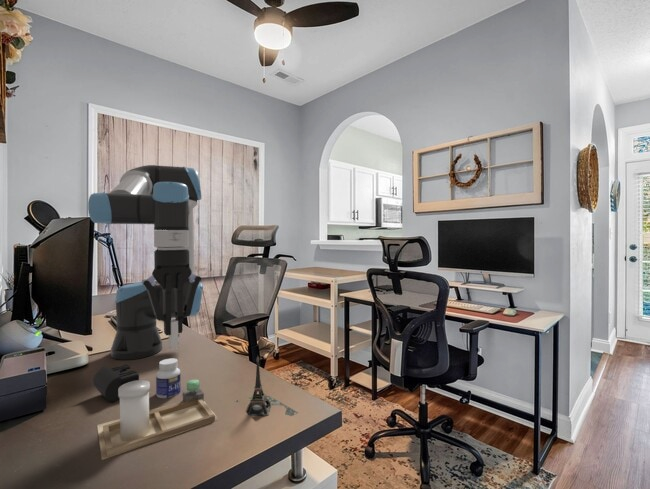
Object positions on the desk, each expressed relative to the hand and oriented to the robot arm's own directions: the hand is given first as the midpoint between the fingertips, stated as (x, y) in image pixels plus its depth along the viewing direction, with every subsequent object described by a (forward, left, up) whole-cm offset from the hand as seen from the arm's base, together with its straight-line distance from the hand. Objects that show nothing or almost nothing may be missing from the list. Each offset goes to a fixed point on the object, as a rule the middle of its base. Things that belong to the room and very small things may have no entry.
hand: (173, 347), depth 79 cm
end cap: (-9, -11, -13) cm, 19 cm away
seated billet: (+13, -10, -11) cm, 20 cm away
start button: (+7, +2, -10) cm, 12 cm away
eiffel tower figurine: (+17, +14, -13) cm, 26 cm away
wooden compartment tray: (+11, -6, -12) cm, 18 cm away
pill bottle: (-1, -1, -13) cm, 13 cm away
